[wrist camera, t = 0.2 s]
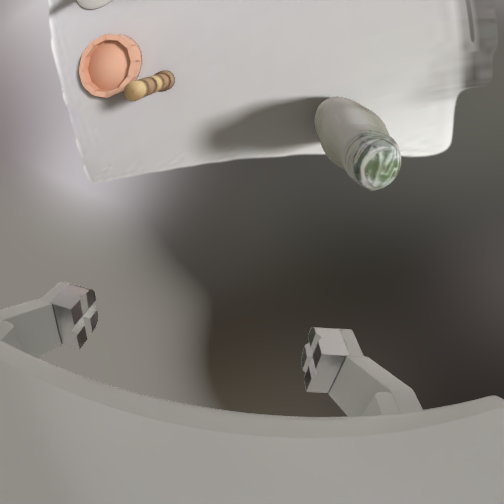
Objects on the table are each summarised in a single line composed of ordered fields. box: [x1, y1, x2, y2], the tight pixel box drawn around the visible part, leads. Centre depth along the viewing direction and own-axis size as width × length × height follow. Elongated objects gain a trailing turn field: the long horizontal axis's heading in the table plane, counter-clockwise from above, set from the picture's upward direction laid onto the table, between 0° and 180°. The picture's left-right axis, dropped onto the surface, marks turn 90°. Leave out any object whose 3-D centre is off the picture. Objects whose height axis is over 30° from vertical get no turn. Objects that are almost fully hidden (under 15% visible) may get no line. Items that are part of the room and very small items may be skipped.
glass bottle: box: [315, 97, 401, 191], centre depth 40 cm, size 10×10×28 cm
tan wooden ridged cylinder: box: [124, 71, 175, 101], centre depth 43 cm, size 4×4×14 cm
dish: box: [79, 34, 142, 98], centre depth 44 cm, size 14×14×3 cm
